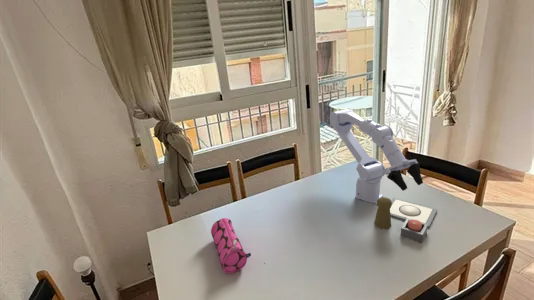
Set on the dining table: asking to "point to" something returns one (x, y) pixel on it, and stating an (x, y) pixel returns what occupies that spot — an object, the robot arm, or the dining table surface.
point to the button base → (413, 232)
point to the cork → (383, 213)
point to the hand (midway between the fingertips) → (413, 186)
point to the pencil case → (228, 246)
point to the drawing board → (412, 211)
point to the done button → (415, 225)
